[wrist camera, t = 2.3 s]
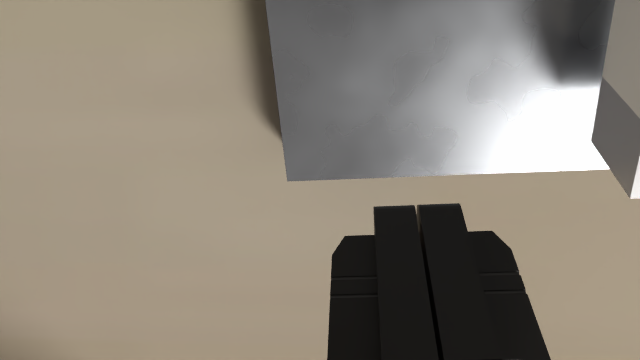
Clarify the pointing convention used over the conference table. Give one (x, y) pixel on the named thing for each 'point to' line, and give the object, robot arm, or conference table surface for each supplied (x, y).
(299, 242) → the conference table surface
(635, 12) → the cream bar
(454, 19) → the levelling base
